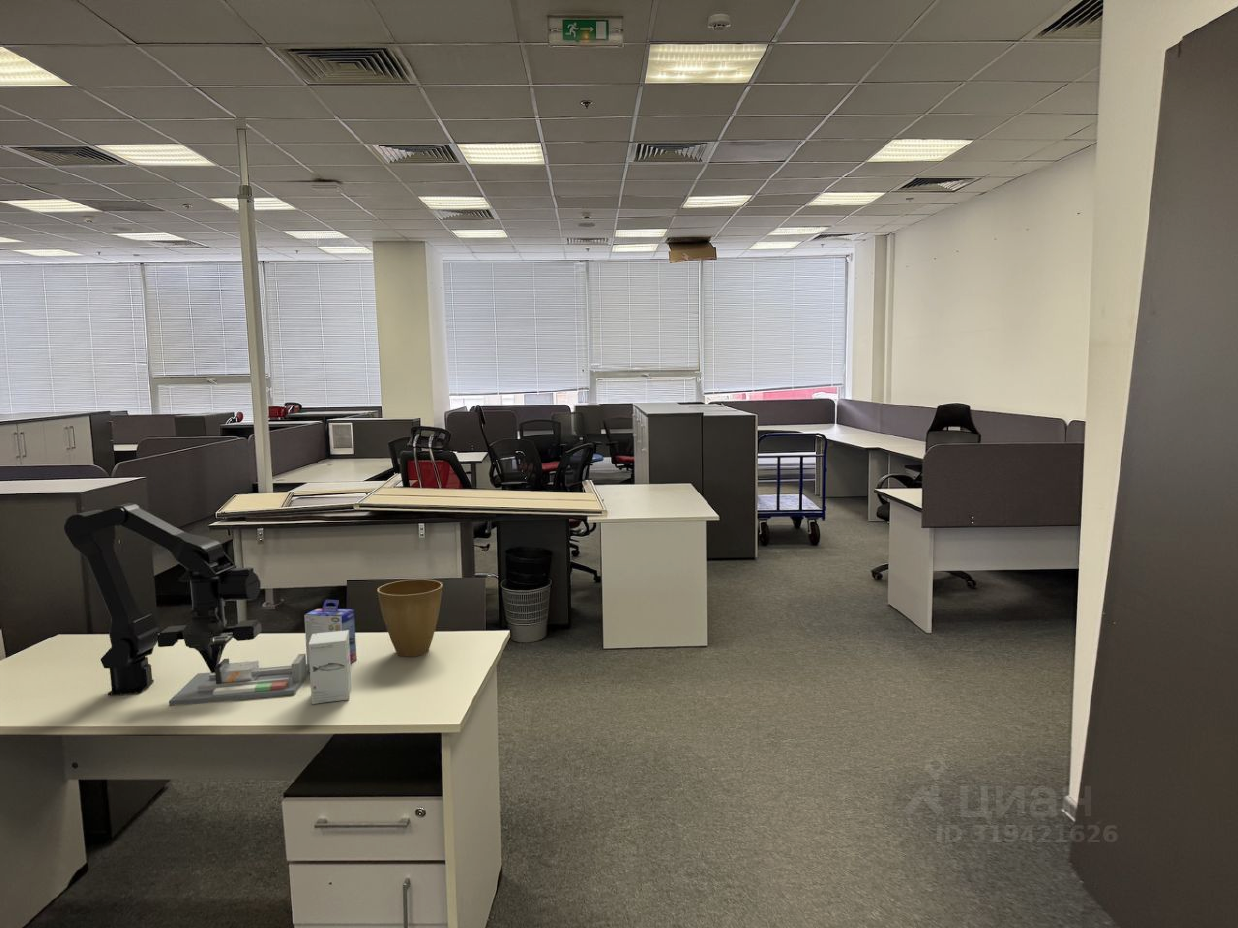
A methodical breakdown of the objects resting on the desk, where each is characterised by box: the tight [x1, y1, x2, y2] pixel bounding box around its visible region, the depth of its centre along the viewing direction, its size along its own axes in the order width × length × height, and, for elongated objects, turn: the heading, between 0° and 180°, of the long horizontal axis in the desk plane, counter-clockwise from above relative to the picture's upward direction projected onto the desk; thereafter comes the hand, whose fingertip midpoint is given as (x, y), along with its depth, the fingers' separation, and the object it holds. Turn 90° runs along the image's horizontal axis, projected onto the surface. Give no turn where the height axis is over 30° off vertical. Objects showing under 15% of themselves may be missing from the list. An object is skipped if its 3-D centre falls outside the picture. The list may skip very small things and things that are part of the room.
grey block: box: [215, 658, 260, 684], centre depth 157 cm, size 7×10×4 cm
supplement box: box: [309, 630, 352, 705], centre depth 153 cm, size 7×7×13 cm
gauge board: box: [168, 653, 310, 707], centre depth 160 cm, size 24×15×5 cm, turn 100°
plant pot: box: [377, 578, 444, 658], centre depth 177 cm, size 15×15×16 cm
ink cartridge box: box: [303, 599, 357, 664], centre depth 172 cm, size 10×6×14 cm, turn 78°
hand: (213, 672), depth 158 cm, fingers closed
